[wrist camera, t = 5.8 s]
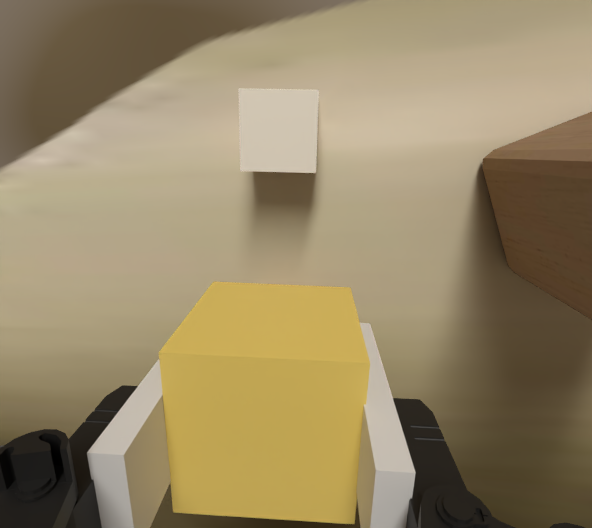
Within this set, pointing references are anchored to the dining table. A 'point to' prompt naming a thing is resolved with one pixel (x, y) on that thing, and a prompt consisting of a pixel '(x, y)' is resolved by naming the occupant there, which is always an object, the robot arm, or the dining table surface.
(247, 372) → the mustard cube
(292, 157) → the cream cube
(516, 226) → the wooden block
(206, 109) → the dining table surface
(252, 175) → the dining table surface
